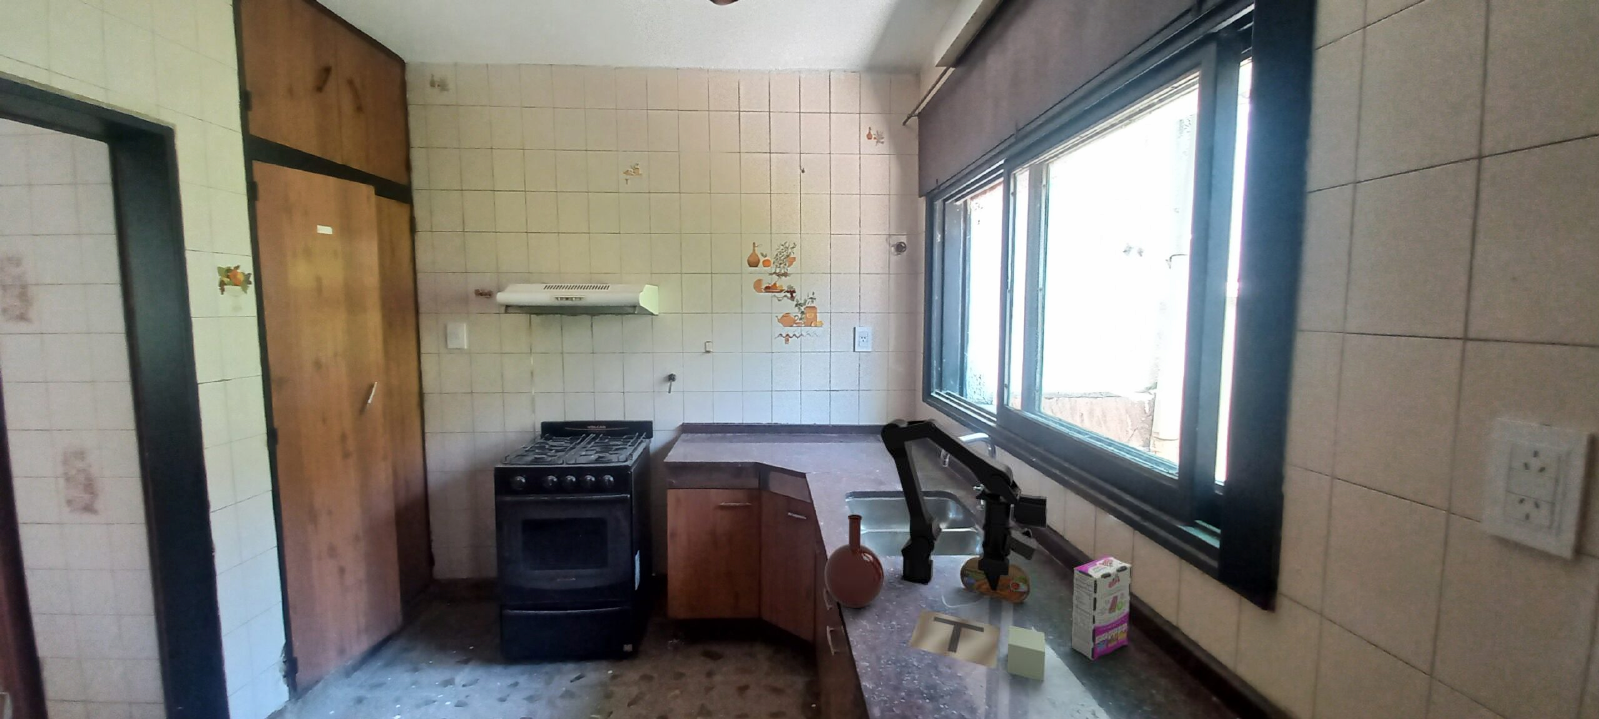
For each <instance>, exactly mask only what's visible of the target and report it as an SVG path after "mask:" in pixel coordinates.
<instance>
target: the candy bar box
mask: <svg viewBox="0 0 1599 719" xmlns="http://www.w3.org/2000/svg"><path fill="white" fill-rule="evenodd" d="M1131 579H1132V564H1129V563H1127V562H1124V561H1122V560H1121V559H1118V558H1116V557H1114V556H1110V555H1107V556H1105V557H1102V558H1099V559H1096V560H1093V561H1091V562H1088V563H1084V564H1083V565H1079V566H1076V567H1074V568H1073V580H1072V581H1073V583H1072V584H1073V585H1072V586H1073V587H1072V588H1073V589H1072V611H1071V612H1072V613H1071V614H1072V615H1071V619H1072V620H1071V638H1070V639H1071V640H1070V641H1071V642H1070V647H1071V649H1072V650H1075V652H1078V653H1080V654H1081V655H1083V656H1084V657H1086V658H1088V659H1089V660H1091V661H1096V660H1098V659H1100V658H1102V657H1104V656H1106V655H1108V654H1111V653H1112V652H1114V651H1116V650H1117V649H1120V648H1122V647H1124V646H1126V645H1129V625H1130V624H1129V622H1130V621H1129V620H1130V601H1131V581H1132V580H1131Z"/></svg>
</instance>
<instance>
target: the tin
mask: <svg viewBox="0 0 1599 719" xmlns="http://www.w3.org/2000/svg"><path fill="white" fill-rule="evenodd" d="M978 559H979V556H974V557H971V558H969V559H967V560H966V561H965V563H964V564H963V565H962V566H961V568H960V570H959V572H960V573H959V578H960V581H961V584H962V585H963V587H964V588H965V590H967V592H969V593H974V594H975V593H976V594H979V595H983V596H988V597H992V598H996V599H1001V600H1004V601H1007V602H1013V603H1015V604H1020V603H1022V602H1024V601H1025V600H1026V599H1027V598H1028V597H1029V595H1030V590H1031V582H1030V578H1029V576H1028V574H1027V573H1026V570H1024V569H1023V568H1022V567H1020V566H1019V565H1017V564H1015V563H1010V562H1009V575H1006V576H1005V575H1001V576H1000V579H999V583H998V586H997V590H996V591H994V590H991V588H990V586H989V583H988V581H987V578H986V576H985V574H984V572H983V571H980V570H978Z"/></svg>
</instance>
